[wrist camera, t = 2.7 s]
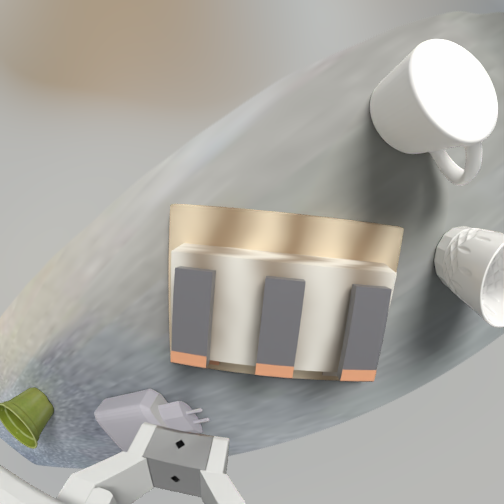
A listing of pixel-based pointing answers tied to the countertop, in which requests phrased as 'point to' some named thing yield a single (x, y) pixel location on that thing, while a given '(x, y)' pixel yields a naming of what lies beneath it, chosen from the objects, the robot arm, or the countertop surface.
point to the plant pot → (26, 416)
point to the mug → (437, 106)
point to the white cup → (474, 270)
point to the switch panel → (281, 241)
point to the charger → (144, 415)
